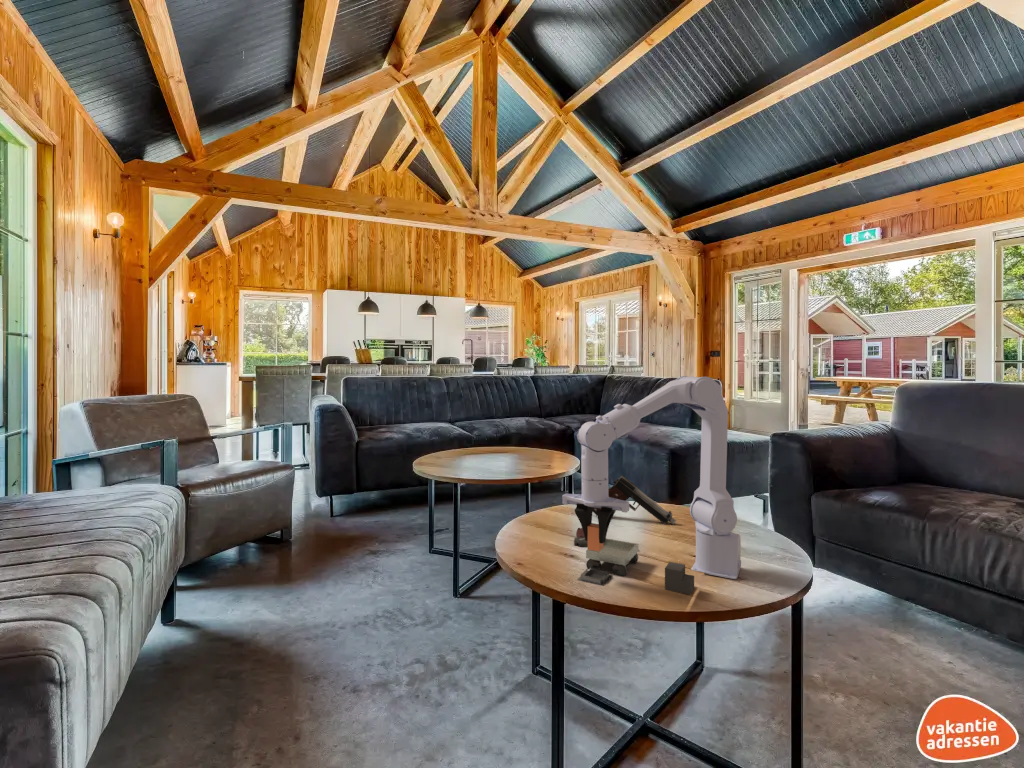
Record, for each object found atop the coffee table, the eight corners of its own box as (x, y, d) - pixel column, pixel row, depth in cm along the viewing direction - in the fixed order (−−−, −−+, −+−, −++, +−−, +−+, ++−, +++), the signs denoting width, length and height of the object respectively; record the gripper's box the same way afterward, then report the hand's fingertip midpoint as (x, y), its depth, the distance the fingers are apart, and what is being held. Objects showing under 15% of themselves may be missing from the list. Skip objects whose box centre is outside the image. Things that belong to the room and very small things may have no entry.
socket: (613, 577, 112) (613, 571, 112) (603, 588, 107) (603, 581, 107) (587, 572, 115) (587, 566, 115) (576, 582, 110) (576, 576, 110)
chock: (694, 590, 106) (694, 566, 106) (690, 597, 102) (690, 573, 102) (669, 585, 108) (669, 561, 108) (664, 592, 105) (664, 568, 105)
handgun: (646, 557, 151) (678, 519, 148) (585, 506, 158) (613, 468, 154) (648, 553, 154) (678, 516, 150) (587, 503, 161) (615, 467, 157)
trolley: (638, 563, 120) (638, 543, 120) (625, 579, 111) (624, 557, 111) (601, 556, 124) (601, 537, 124) (586, 571, 116) (586, 550, 116)
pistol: (632, 539, 139) (634, 554, 127) (576, 535, 142) (573, 549, 130) (632, 530, 139) (634, 544, 127) (576, 526, 142) (573, 539, 130)
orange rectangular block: (603, 547, 111) (603, 524, 111) (599, 551, 109) (599, 528, 109) (592, 545, 112) (591, 523, 112) (587, 549, 110) (587, 526, 110)
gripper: (556, 478, 110) (556, 540, 111) (621, 485, 103) (622, 552, 104) (569, 472, 116) (570, 531, 117) (632, 478, 109) (632, 541, 110)
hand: (595, 540), depth 111 cm, fingers closed on orange rectangular block, 3 cm apart
